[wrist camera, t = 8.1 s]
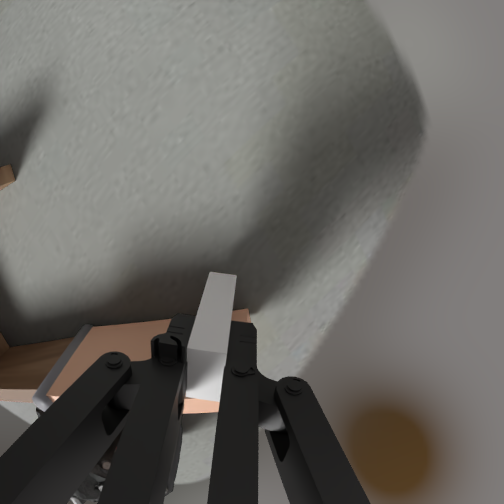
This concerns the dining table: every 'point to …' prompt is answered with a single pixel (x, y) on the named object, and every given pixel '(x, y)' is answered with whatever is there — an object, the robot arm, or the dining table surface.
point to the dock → (25, 351)
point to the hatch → (109, 340)
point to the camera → (98, 474)
